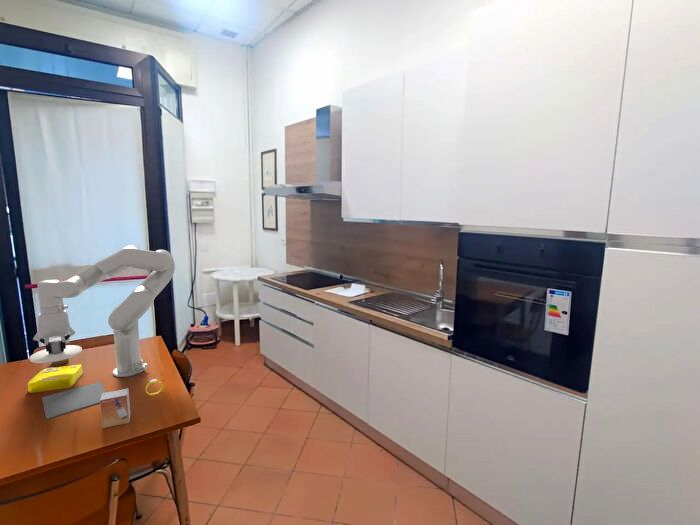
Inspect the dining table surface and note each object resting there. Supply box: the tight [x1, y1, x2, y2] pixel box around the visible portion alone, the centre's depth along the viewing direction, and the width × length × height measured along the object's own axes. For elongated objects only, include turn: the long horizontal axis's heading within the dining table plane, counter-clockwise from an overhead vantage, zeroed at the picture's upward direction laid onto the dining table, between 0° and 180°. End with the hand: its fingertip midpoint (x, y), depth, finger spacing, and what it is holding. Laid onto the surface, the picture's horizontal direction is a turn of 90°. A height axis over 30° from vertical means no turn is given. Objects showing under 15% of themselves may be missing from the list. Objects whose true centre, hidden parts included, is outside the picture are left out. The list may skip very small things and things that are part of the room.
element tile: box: [27, 364, 84, 394], centre depth 151 cm, size 15×15×5 cm
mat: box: [41, 381, 107, 421], centre depth 137 cm, size 19×19×1 cm
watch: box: [145, 378, 164, 397], centre depth 142 cm, size 6×3×6 cm, turn 127°
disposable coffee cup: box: [49, 336, 71, 366], centre depth 169 cm, size 10×10×12 cm
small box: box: [99, 388, 131, 429], centre depth 123 cm, size 8×6×10 cm
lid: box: [29, 340, 83, 364], centre depth 149 cm, size 17×17×6 cm
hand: (56, 351), depth 149 cm, fingers closed on lid, 3 cm apart
